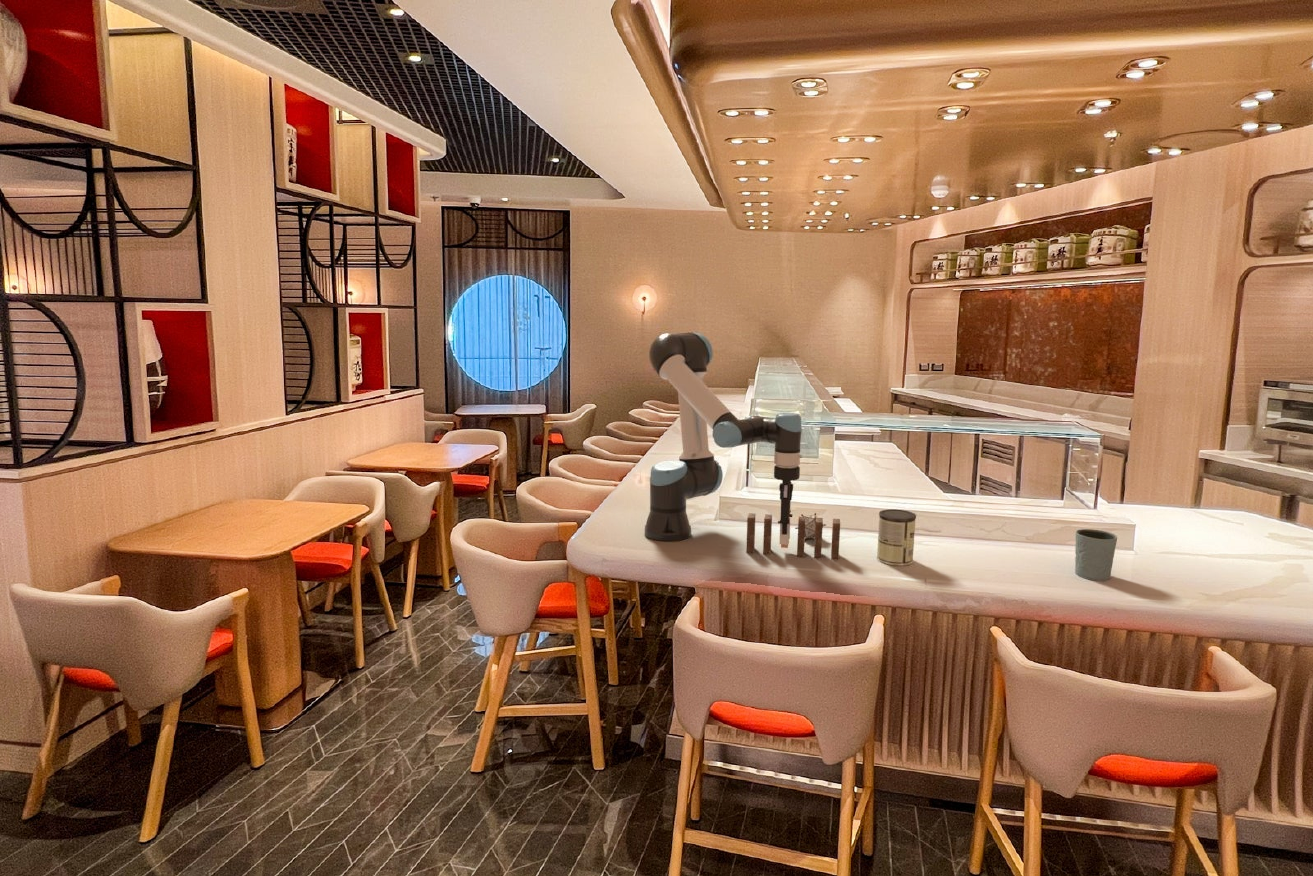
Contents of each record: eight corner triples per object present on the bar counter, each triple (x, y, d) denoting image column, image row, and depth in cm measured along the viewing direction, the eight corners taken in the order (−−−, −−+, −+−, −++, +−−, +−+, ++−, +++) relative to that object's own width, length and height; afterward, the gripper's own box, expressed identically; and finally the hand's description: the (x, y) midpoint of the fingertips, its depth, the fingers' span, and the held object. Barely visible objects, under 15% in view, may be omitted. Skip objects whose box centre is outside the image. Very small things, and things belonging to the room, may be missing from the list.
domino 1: (746, 552, 229) (747, 517, 227) (747, 547, 234) (748, 513, 232) (753, 553, 229) (754, 518, 227) (754, 548, 234) (755, 513, 232)
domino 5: (814, 558, 225) (815, 522, 223) (814, 552, 230) (815, 517, 228) (820, 558, 225) (822, 522, 223) (820, 553, 229) (822, 517, 228)
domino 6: (831, 559, 224) (833, 523, 222) (831, 553, 229) (832, 518, 227) (838, 559, 224) (840, 523, 222) (837, 554, 228) (839, 519, 227)
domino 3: (780, 547, 227) (782, 511, 225) (781, 542, 231) (782, 507, 229) (787, 548, 226) (788, 512, 224) (788, 543, 231) (789, 507, 229)
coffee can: (877, 552, 230) (880, 507, 228) (913, 556, 227) (916, 511, 224) (875, 563, 221) (878, 516, 218) (912, 567, 217) (916, 520, 215)
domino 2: (763, 554, 228) (764, 518, 226) (764, 549, 233) (765, 514, 231) (769, 554, 228) (771, 519, 226) (770, 549, 233) (772, 514, 231)
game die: (814, 551, 243) (825, 532, 236) (789, 540, 244) (800, 521, 237) (820, 531, 249) (831, 512, 242) (796, 521, 250) (806, 502, 243)
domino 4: (796, 556, 226) (798, 520, 224) (797, 551, 231) (798, 516, 229) (803, 557, 226) (805, 521, 224) (804, 551, 230) (805, 516, 229)
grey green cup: (1095, 583, 206) (1100, 541, 204) (1062, 571, 215) (1067, 530, 213) (1121, 578, 210) (1126, 536, 208) (1087, 567, 219) (1092, 526, 217)
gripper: (799, 472, 215) (796, 551, 219) (800, 460, 232) (798, 533, 236) (772, 471, 217) (770, 549, 221) (775, 459, 234) (773, 532, 238)
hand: (784, 541), depth 229 cm, fingers closed on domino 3, 5 cm apart
